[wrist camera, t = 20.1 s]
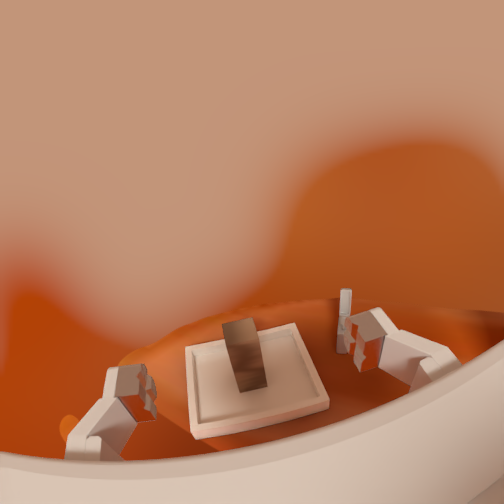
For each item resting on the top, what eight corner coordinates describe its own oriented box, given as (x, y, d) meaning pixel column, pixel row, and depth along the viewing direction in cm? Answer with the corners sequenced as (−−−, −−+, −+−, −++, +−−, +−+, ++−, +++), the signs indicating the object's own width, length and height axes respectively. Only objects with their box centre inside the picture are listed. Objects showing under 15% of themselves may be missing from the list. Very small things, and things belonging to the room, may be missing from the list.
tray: (295, 333, 50) (294, 322, 49) (328, 408, 37) (329, 399, 35) (189, 356, 49) (185, 346, 47) (195, 439, 35) (190, 431, 34)
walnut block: (261, 366, 44) (252, 317, 39) (267, 386, 41) (259, 338, 36) (235, 372, 44) (221, 324, 39) (239, 393, 40) (225, 345, 35)
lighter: (346, 353, 44) (350, 315, 41) (335, 353, 45) (338, 315, 41) (349, 323, 50) (351, 285, 46) (339, 322, 51) (341, 285, 47)
